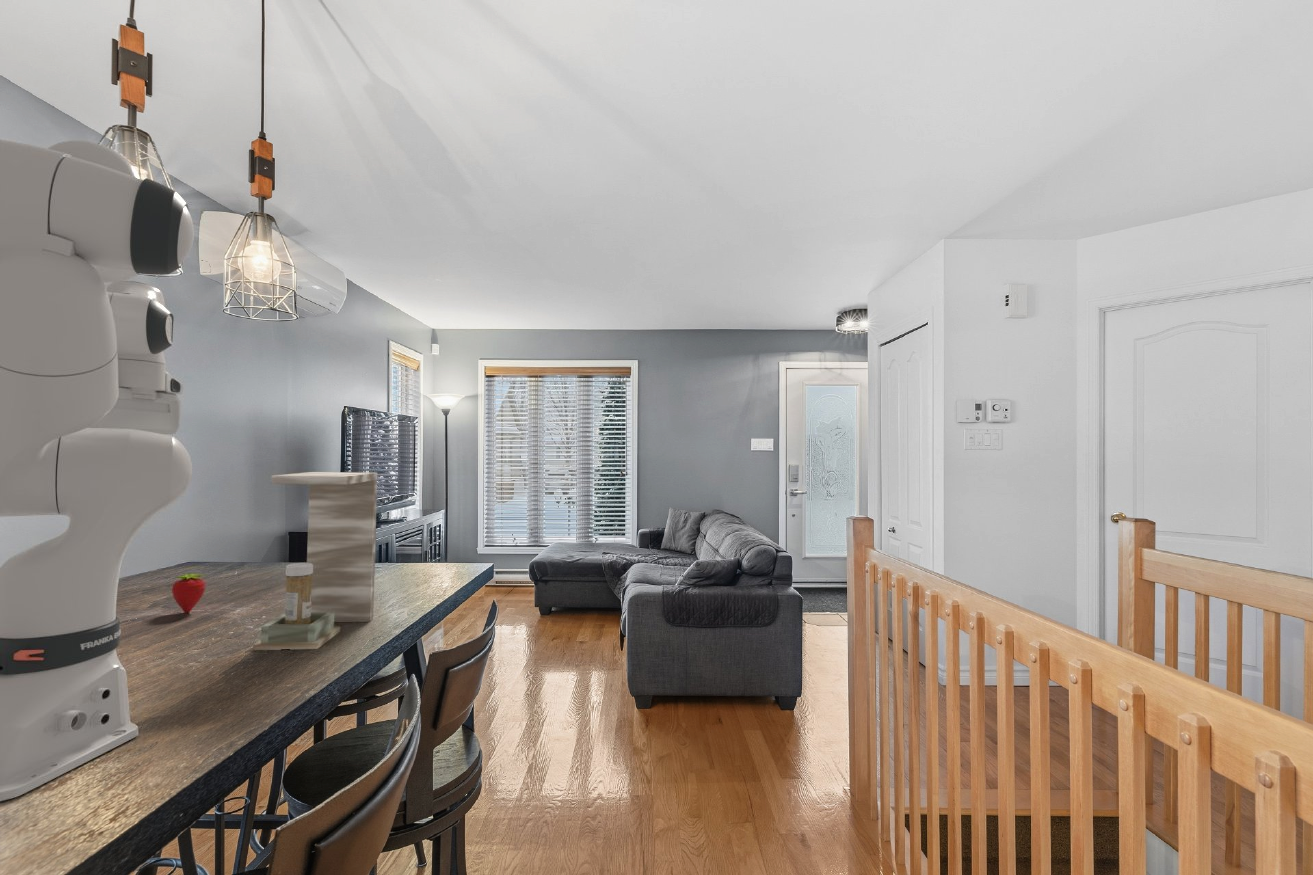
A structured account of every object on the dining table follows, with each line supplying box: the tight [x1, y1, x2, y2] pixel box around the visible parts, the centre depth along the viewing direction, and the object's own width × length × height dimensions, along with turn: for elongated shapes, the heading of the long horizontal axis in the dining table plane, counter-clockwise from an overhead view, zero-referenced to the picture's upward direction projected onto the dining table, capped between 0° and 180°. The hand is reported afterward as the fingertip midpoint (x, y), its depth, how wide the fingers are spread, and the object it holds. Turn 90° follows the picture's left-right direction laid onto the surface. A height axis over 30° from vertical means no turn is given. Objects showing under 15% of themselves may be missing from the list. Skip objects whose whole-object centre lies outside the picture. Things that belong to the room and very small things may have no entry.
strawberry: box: [171, 566, 207, 614], centre depth 136 cm, size 6×8×10 cm
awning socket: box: [252, 471, 378, 651], centre depth 123 cm, size 20×14×32 cm
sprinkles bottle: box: [284, 562, 313, 624], centre depth 118 cm, size 5×5×13 cm
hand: (129, 460), depth 106 cm, fingers open, 8 cm apart
